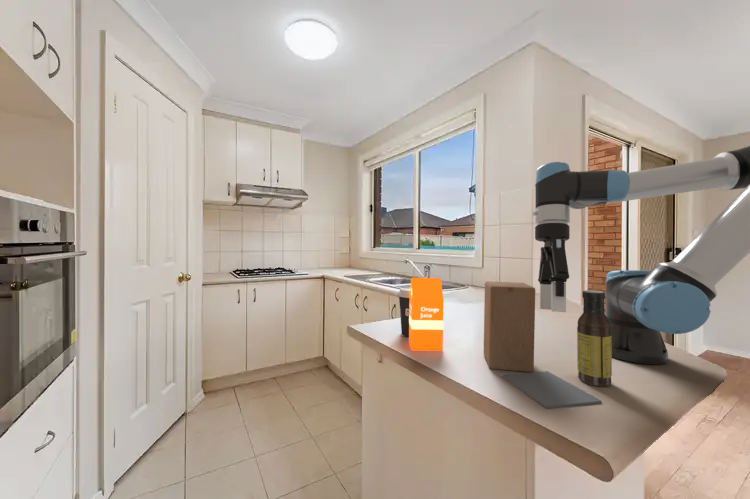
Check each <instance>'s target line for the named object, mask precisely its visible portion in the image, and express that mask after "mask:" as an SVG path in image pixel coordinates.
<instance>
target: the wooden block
mask: <svg viewBox="0 0 750 499" xmlns="http://www.w3.org/2000/svg"><path fill="white" fill-rule="evenodd" d="M483 317H484V318H483V322H484V323H483V357H484V359H485V361H486V363H487V365H488V368H489V369H492V370H501V371H502V370H503V371H514V372H522V373H531V372H535V371H534V370H535V369H534V368H535V367H534V366H535V363H534V362H535V329H536V328H535V322H536V319H535V318H536V288H535V287H534V286H532V285H529V284H527V283H525V282H517V281H515V282H513V281H512V282H511V281H485V282H484V314H483Z"/></svg>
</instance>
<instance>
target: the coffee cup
mask: <svg viewBox="0 0 750 499" xmlns="http://www.w3.org/2000/svg"><path fill="white" fill-rule="evenodd" d="M410 287H411V286H408V287H401V288H400V289H399V291H398V293H397V297H398V300H399V302H398V303H399V312H400V313H399V314H400V330H401V336H402V337H404V338H405V337H406V338H409V302H410Z"/></svg>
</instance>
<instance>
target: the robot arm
mask: <svg viewBox="0 0 750 499" xmlns="http://www.w3.org/2000/svg"><path fill="white" fill-rule="evenodd" d="M535 177H536V178H535V184H534V187H535V211H533V212H532V215H533V216H535V222H534V223H535V224H536V225H535V227H534V230H535V231H534V238H535V240H536V241H538V242H543V243H544V244H543V246H541V247H540V261H539V271H538V279H537V281H538V283H539V309H540V310H548V311H549V310H550V311H551V312H557V313H567V280H568V279H570V273H569V266H568V260H567V259H568V258H567V253H566V242H567V241H568V240H570V232H571V230H570V225H569V223H570V221H571V219H570V215H571V214H570V213H571V212H570V211H571V209H573V210H581V209H586V208H589V207H594V206H603V205H607V204H614V203H623V202H628V201H634V200H635V201H636V200H642V199H647V198H648V199H649V198H656V197H657V198H658V197H662V196H668V195H669V196H670V195H676V194H684V193H690V192H697V191H703V190H710V189H717V190H719V191H723V192H725V191H731V190H740V189H741V190H742V189H743V190H742V191H741V192H740V193H739V194H738V195H737V196H736V197H735V198H734V199H733V200H732V201H731V202H730V203H729V204H728V205H727V206H726V207H725V208H724V209H723V210H722V211H721V212H720V213H719V214H718V215H717V216H715V218H714V219H713V220H711V222H710V223H709V224H708V225H707V226H706V227H704V228H703V230H702V231H701V232H700V233H699V234H698V235H697V236H696V237H695V238H694V239H693V240H692V241H690V242H689V243H688V245H686V247H685V248H683V249H682V250H681V252H680V253H678V254H677V255H676V256H675V257H674V258H673V259H672V260H671V261H669V262H659V263H657V264H656V265H655V266H654V267H653V268H652V269H651V270H639V269H638V270H634V269H633V270H632V269H631V270H630V269H629V270H628V269H627V270H625V269H624V270H611V271H609V272H608V273H607V274H606V280H605V308H604V310H605V311H604V314H605V316H606V317H607V319H608V320H609V322H610V324H611V336H612V358H615V359H617V360H621V361H626V362H630V363H636V364H645V365H664V364H667V363H668V362H669V353H668V349H667V347H666V344H665V342H664V338H663V336H662V333H665V334H671V335H681V334H687V333H690V332H694V331H695V330H698V329H699V328H701V327H702V326H703V325H704V324H706V322H707V321H708V320H709V318H710V315H711V309H710V307H711V302H712V301H713V300H714V299H715V298H716V297H717V296H718V294H717V290H716V287H715V286H716V285H717V284H718V283H719V282H720V281H721V280H722V279H723V278H724V277H725V276H727V274H728V273H730V271H732V270H733V269H734V268H735V267H736V266H737V265H738V264H739V263H740V262H741V261H742V260H744V258H746V257H747V256H748V255H749V254H750V145H748V146H744V147H741V148H738V149H735V150H730V151H729V150H728V151H724V152H720V153H717V154H716V155H715V156H714V157H713V158H708V159H701V160H696V161H690V162H685V163H684V162H683V163H678V164H672V165H666V166H660V167H655V168H649V169H644V170H638V171H631V172H627V171H626V170H623V169H608V170H586V171H575V170H574V171H571V168H570V165H569V164H568V163H567V162H565V161H564V162H561V161H551V162H547V163H544V164H542V165H540V166H539V167H538V168H537V169H536V174H535ZM570 208H571V209H570Z"/></svg>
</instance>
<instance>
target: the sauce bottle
mask: <svg viewBox="0 0 750 499" xmlns="http://www.w3.org/2000/svg"><path fill="white" fill-rule="evenodd" d="M582 299H583V307H582V311H583V312H582V314H580V317H578V320H577V327H576V335H577V336H576V337H577V338H576V339H577V340H576V342H577V343H576V345H577V346H576V348H577V351H576V352H577V356H576V357H577V359H576V360H577V363H576V364H577V365H576V366H577V371H578V372H577V374H578V375H577V377H578V379H579V380H580V381H581V382H583V383H585V384H587V385H590V386H594V387H604V388H605V387H608V386H610V385H611V384H612V376H613V369H612V365H613V364H612V360H613V357H612V336H611V324H610V322H609V320H608V319H607V317H606V316H605V300H606V292H605V291H601V290H591V289H590V290H589V289H588V290H587V289H586V290H582Z"/></svg>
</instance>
